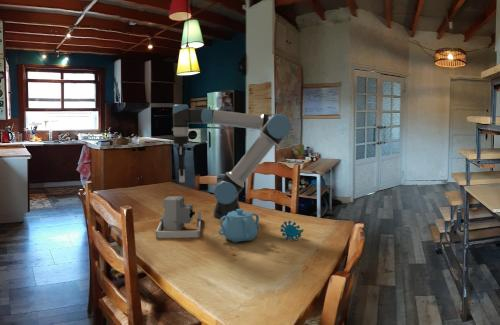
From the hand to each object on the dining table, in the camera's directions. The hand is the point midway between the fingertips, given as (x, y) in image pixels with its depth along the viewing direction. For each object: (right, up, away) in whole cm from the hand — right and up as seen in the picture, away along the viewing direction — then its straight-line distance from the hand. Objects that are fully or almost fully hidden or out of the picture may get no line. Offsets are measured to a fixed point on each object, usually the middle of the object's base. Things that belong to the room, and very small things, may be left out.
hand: (182, 181), depth 205 cm
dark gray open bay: (0, -21, 0) cm, 21 cm away
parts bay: (+1, -23, -15) cm, 27 cm away
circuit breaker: (0, -22, -9) cm, 24 cm away
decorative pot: (+30, -25, -23) cm, 45 cm away
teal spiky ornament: (+53, -25, -22) cm, 63 cm away
